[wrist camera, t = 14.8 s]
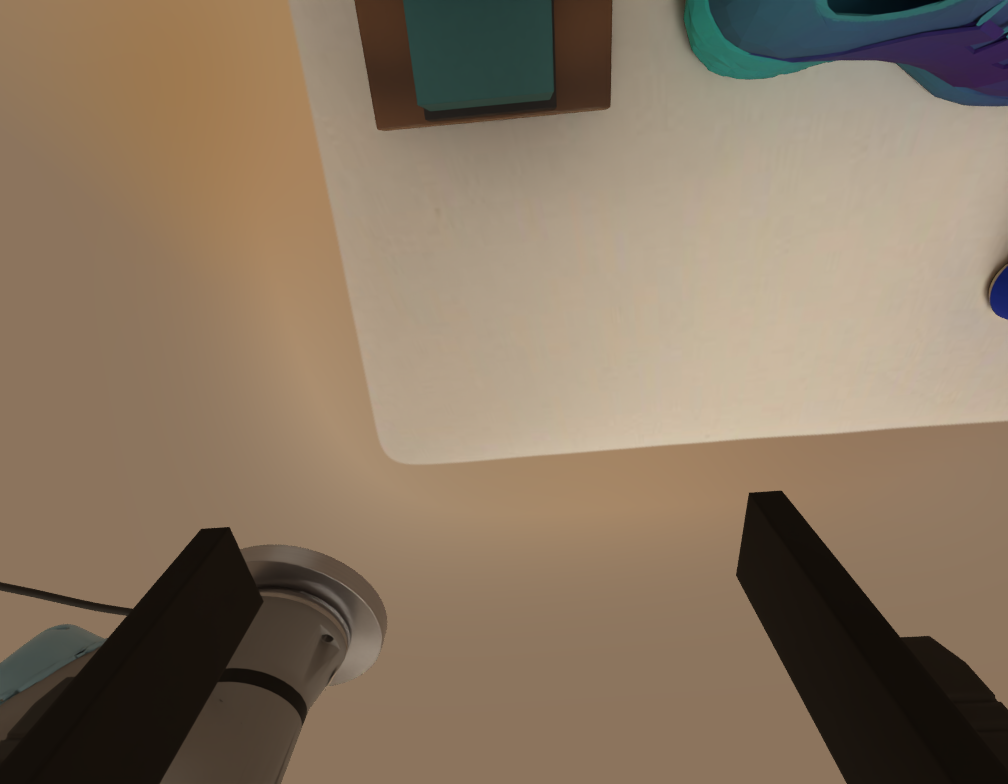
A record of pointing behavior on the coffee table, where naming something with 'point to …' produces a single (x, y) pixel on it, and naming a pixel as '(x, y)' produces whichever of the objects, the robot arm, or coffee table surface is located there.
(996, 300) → the beverage can
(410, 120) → the brown wooden board
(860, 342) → the coffee table surface
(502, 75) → the teal stepped block
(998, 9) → the sneaker
